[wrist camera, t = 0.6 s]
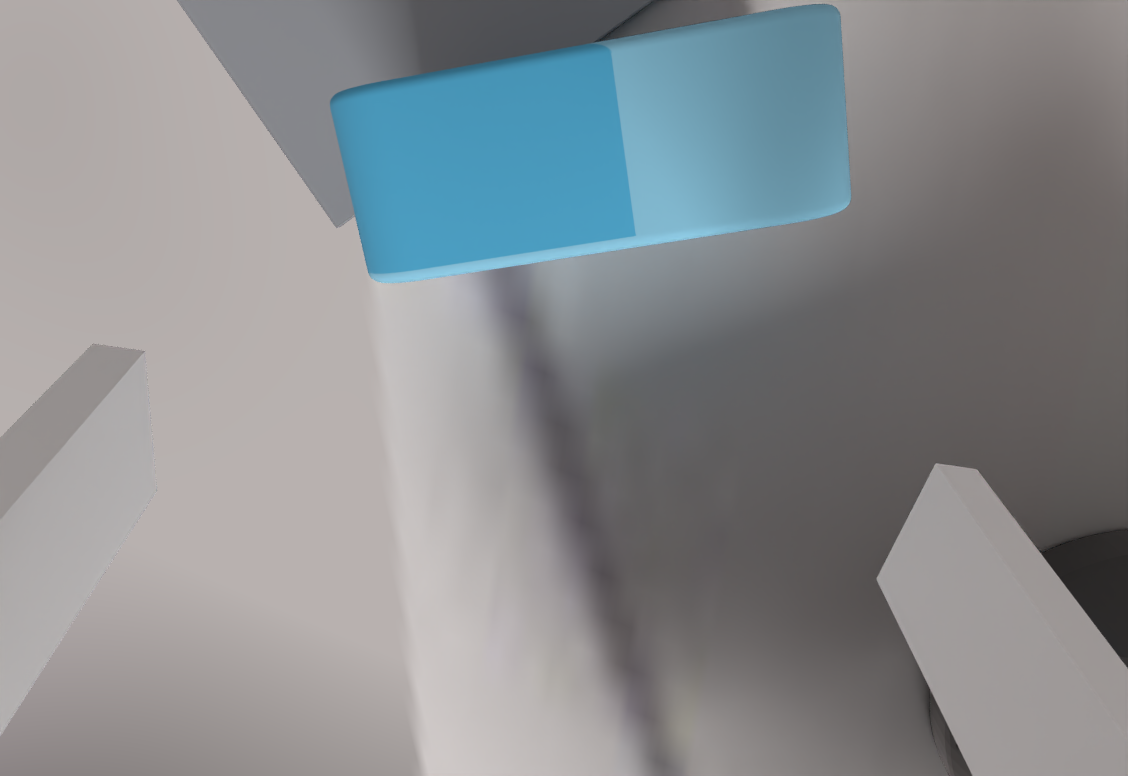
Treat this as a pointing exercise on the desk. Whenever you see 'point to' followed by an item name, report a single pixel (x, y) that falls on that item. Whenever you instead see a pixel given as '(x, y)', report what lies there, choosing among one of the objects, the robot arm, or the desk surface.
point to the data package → (599, 146)
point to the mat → (372, 57)
